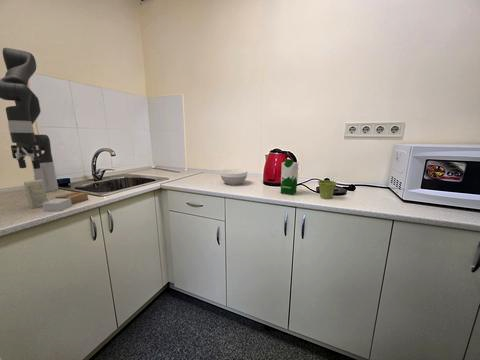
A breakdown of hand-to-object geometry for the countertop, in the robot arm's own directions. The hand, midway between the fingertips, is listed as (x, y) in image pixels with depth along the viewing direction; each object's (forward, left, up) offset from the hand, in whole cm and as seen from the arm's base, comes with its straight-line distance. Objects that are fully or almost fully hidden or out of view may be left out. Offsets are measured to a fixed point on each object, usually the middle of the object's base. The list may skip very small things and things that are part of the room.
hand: (30, 168), depth 94 cm
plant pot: (+135, +50, -18) cm, 145 cm away
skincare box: (0, +1, -18) cm, 18 cm away
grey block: (+12, 0, -18) cm, 22 cm away
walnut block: (+9, +10, -18) cm, 23 cm away
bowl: (+77, +70, -18) cm, 105 cm away
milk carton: (+115, +54, -18) cm, 128 cm away
